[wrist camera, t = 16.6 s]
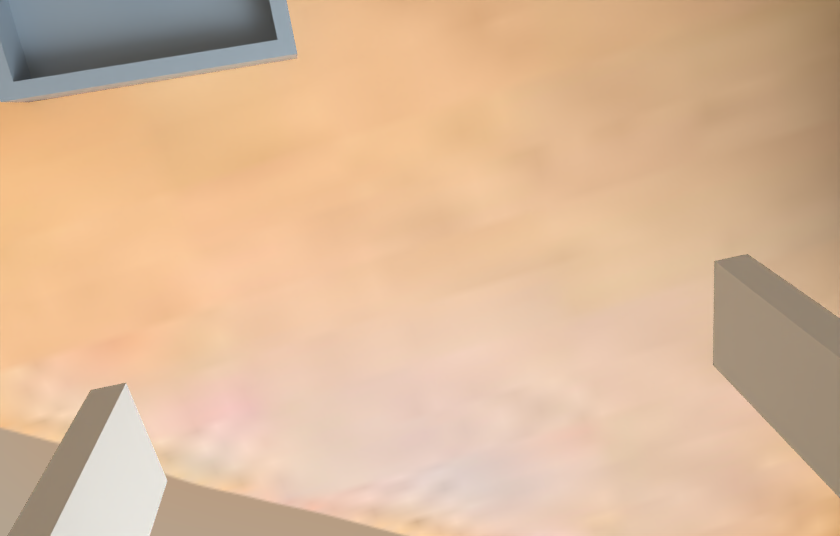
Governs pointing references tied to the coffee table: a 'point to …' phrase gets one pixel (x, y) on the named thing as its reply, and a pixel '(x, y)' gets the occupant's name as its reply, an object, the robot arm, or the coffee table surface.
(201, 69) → the tray
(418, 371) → the coffee table surface
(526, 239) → the coffee table surface
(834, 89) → the coffee table surface
